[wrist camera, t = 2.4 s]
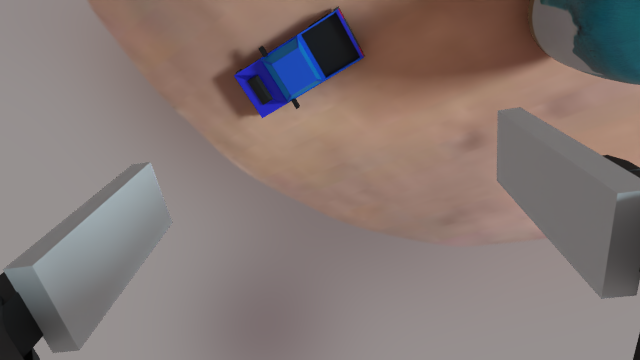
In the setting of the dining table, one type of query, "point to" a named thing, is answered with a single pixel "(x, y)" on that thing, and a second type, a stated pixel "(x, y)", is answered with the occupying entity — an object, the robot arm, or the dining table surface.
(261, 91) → the toy car
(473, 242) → the dining table surface
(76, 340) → the robot arm
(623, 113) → the dining table surface
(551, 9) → the vase
